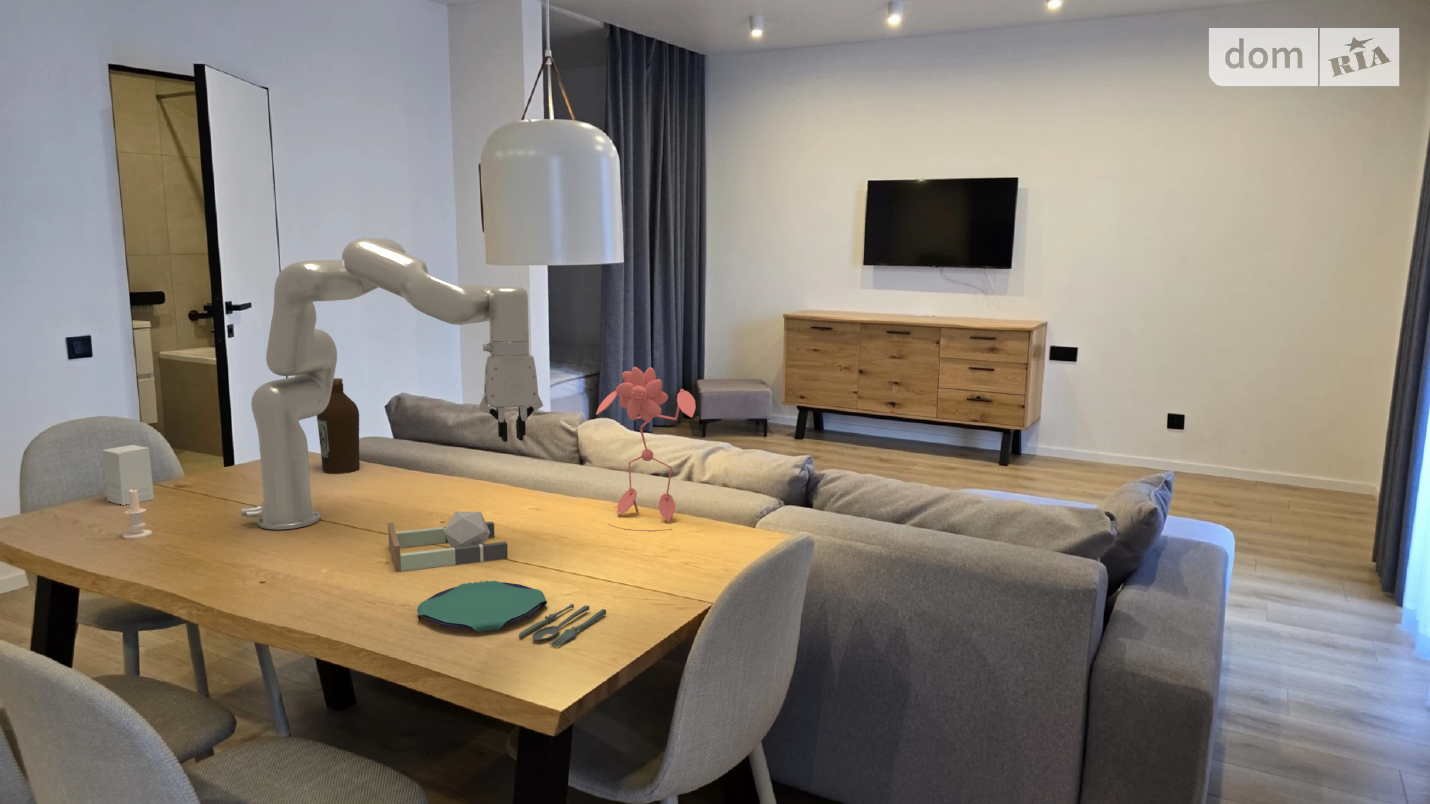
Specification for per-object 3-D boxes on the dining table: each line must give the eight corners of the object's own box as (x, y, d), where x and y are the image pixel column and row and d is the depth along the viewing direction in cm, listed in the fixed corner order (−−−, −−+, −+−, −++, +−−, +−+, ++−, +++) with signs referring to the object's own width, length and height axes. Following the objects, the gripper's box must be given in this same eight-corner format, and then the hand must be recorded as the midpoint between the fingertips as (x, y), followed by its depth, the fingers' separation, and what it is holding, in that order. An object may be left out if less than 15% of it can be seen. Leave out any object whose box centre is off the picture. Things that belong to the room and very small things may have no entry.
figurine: (608, 506, 220) (607, 360, 215) (705, 520, 209) (707, 367, 204) (571, 523, 207) (569, 367, 201) (674, 539, 196) (674, 375, 190)
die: (466, 563, 182) (494, 521, 183) (429, 540, 182) (458, 498, 184) (475, 564, 190) (502, 524, 191) (441, 542, 190) (468, 502, 192)
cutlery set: (476, 585, 170) (476, 572, 169) (615, 615, 156) (615, 602, 156) (395, 623, 152) (394, 610, 152) (544, 660, 139) (543, 646, 139)
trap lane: (395, 571, 175) (394, 546, 174) (388, 546, 189) (387, 523, 188) (507, 558, 183) (507, 533, 182) (493, 535, 197) (492, 512, 197)
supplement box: (155, 499, 223) (150, 447, 221) (122, 506, 216) (116, 453, 214) (139, 494, 226) (134, 443, 224) (106, 501, 220) (101, 449, 218)
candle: (155, 535, 195) (150, 487, 193) (127, 541, 191) (122, 492, 189) (147, 530, 198) (143, 483, 197) (119, 535, 195) (114, 487, 193)
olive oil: (356, 463, 261) (351, 375, 257) (366, 471, 252) (361, 379, 248) (316, 468, 255) (310, 378, 251) (325, 476, 246) (319, 382, 242)
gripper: (471, 352, 178) (474, 446, 181) (554, 350, 184) (555, 440, 187) (465, 348, 185) (468, 439, 188) (545, 346, 191) (547, 433, 194)
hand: (512, 439), depth 188 cm, fingers open, 2 cm apart
